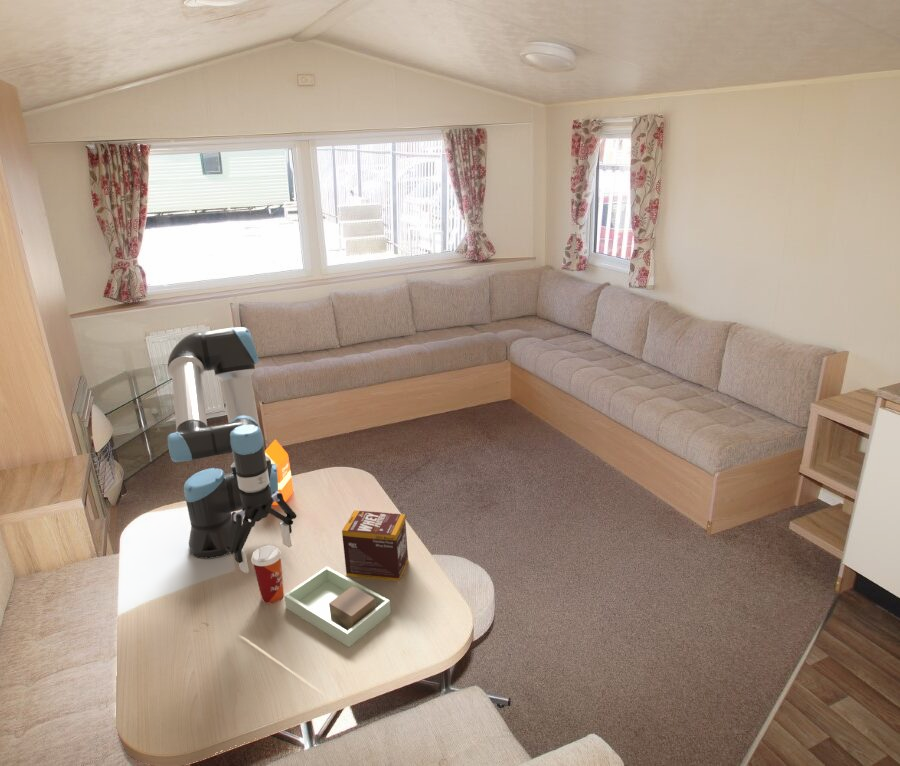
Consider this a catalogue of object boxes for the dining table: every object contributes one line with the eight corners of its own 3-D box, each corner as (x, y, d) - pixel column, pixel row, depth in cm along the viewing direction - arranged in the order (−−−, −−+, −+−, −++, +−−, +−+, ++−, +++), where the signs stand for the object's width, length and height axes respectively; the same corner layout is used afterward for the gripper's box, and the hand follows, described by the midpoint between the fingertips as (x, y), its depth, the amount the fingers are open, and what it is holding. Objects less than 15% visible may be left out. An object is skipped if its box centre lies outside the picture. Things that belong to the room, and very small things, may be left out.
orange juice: (261, 504, 221) (253, 450, 214) (272, 490, 229) (264, 438, 222) (284, 505, 220) (275, 451, 213) (294, 491, 228) (286, 439, 221)
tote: (286, 609, 172) (284, 595, 170) (328, 580, 183) (326, 566, 181) (349, 649, 158) (347, 634, 157) (391, 614, 169) (389, 600, 167)
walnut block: (331, 622, 166) (329, 603, 164) (354, 604, 172) (352, 586, 170) (353, 635, 161) (351, 616, 159) (376, 617, 167) (374, 598, 165)
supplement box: (399, 583, 180) (395, 535, 175) (346, 578, 183) (340, 530, 178) (409, 560, 190) (406, 513, 184) (358, 555, 193) (353, 509, 187)
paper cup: (283, 605, 174) (276, 561, 168) (254, 606, 174) (246, 562, 169) (290, 586, 181) (284, 543, 176) (262, 587, 181) (255, 544, 176)
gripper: (219, 512, 154) (234, 588, 161) (303, 469, 172) (312, 539, 179) (201, 503, 158) (216, 577, 166) (285, 462, 176) (295, 530, 184)
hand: (266, 557), depth 172 cm, fingers open, 13 cm apart
